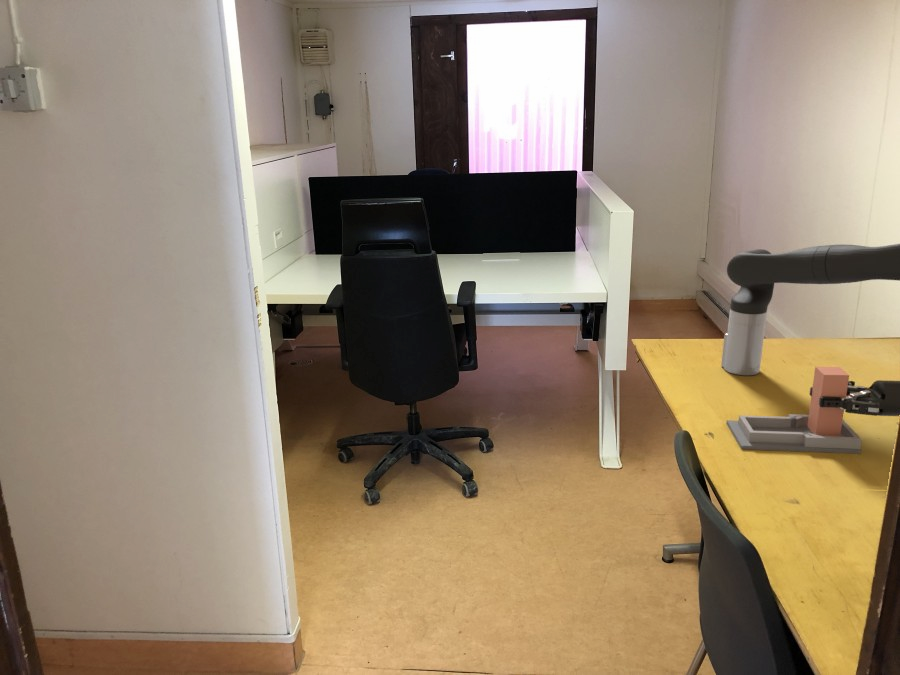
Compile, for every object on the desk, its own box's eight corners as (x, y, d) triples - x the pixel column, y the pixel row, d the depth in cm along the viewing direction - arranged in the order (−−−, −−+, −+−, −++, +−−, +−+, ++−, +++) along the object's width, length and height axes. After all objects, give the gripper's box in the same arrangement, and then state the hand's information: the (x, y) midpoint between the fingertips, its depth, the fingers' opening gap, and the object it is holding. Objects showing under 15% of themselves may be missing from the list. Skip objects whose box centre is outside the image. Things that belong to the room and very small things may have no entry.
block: (815, 435, 156) (823, 374, 152) (807, 426, 161) (815, 366, 156) (839, 436, 155) (849, 375, 151) (831, 426, 160) (839, 366, 156)
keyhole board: (836, 427, 164) (838, 414, 163) (860, 453, 152) (862, 440, 151) (726, 423, 167) (727, 411, 166) (741, 449, 155) (742, 436, 154)
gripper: (887, 370, 160) (805, 368, 162) (919, 394, 146) (830, 393, 148) (881, 401, 162) (801, 399, 164) (913, 429, 148) (825, 426, 150)
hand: (815, 396), depth 156 cm, fingers closed on block, 5 cm apart
